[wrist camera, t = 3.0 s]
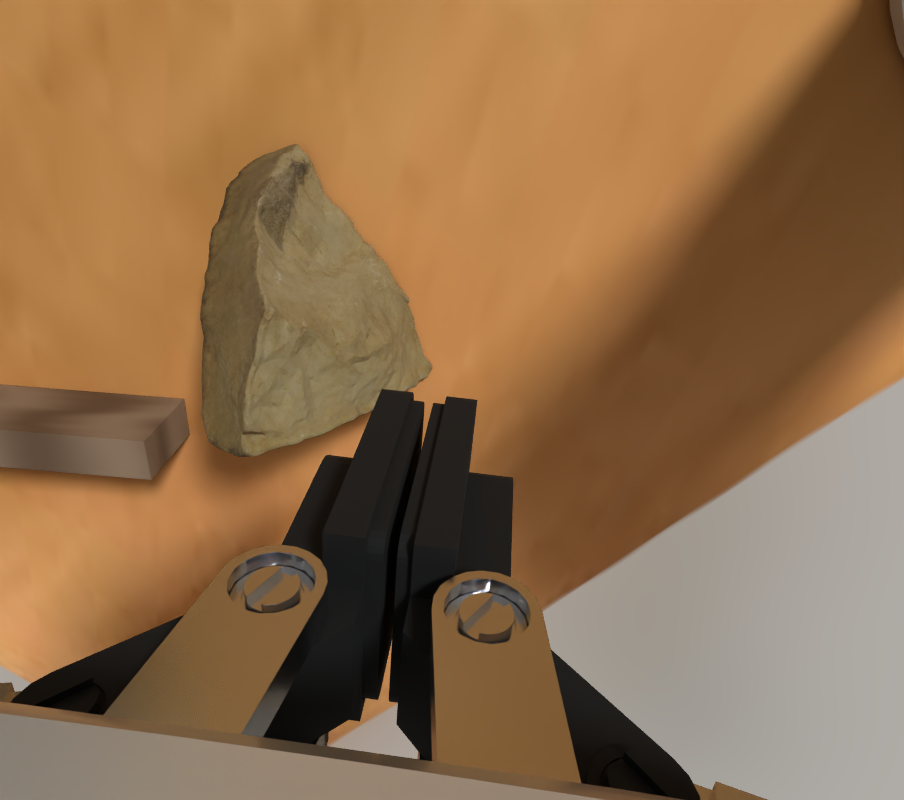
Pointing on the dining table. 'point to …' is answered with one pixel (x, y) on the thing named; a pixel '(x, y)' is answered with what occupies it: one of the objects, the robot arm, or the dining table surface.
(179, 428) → the corner stop
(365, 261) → the rock
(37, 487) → the dining table surface
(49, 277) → the dining table surface
